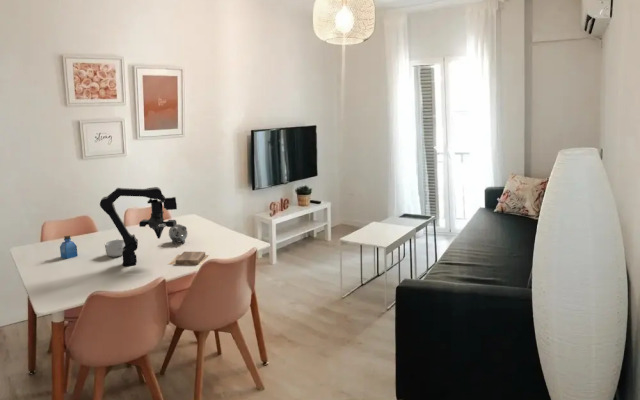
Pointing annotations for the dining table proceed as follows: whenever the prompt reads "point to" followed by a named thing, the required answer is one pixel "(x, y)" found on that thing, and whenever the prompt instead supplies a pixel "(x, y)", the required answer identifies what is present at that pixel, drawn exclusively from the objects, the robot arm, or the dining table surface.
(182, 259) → the brown wooden slab
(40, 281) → the dining table surface
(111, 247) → the teacup
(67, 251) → the perfume bottle
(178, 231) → the piggy bank
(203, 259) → the light tan wooden board
